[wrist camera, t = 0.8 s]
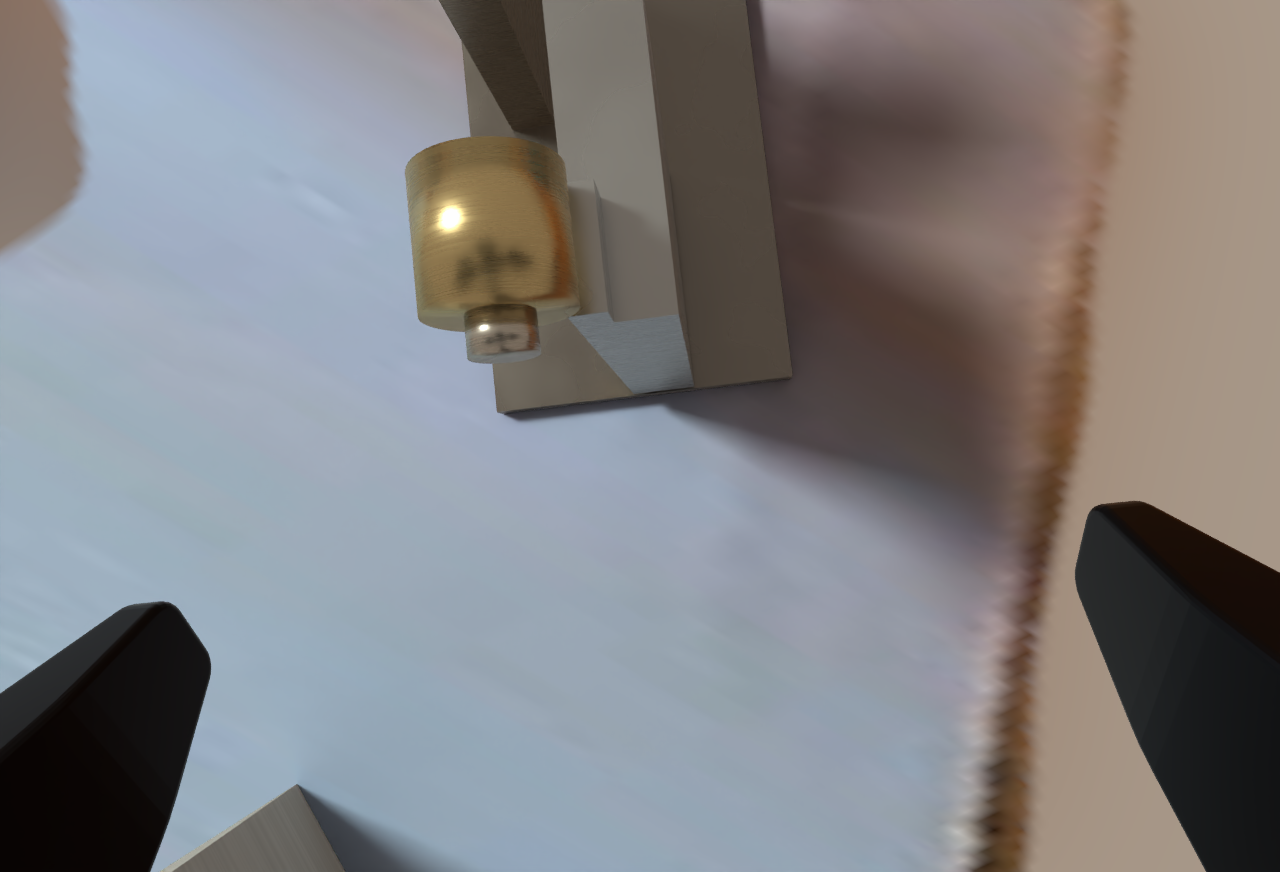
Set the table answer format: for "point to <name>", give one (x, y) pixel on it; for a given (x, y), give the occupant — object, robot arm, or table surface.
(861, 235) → the table surface
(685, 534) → the table surface
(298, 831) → the tea bag
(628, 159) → the brass-capped grey pillar
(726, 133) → the hinge base
